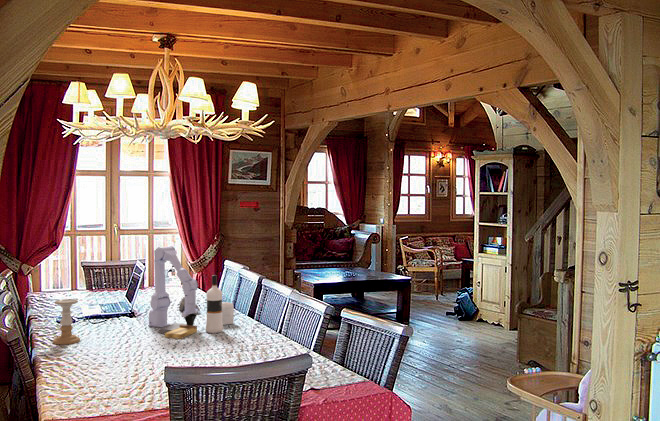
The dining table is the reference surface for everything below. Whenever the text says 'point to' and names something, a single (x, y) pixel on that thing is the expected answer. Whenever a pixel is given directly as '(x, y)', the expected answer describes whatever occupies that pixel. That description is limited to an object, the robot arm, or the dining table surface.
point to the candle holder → (66, 323)
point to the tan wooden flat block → (181, 331)
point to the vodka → (214, 308)
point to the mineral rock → (182, 305)
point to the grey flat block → (170, 327)
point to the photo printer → (227, 313)
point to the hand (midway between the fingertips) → (190, 328)
